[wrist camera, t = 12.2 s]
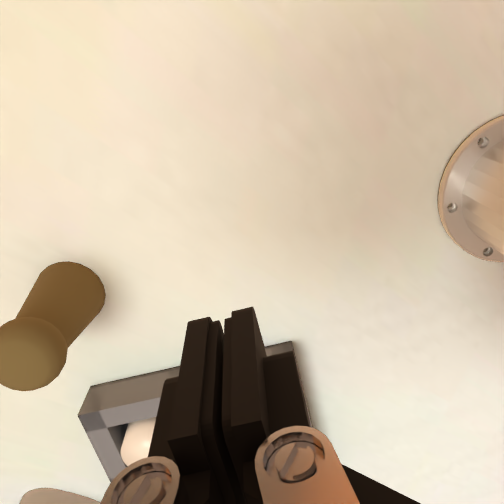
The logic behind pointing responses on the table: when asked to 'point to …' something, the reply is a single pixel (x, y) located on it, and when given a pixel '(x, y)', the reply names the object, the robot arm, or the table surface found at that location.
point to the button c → (137, 440)
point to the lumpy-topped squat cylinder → (54, 497)
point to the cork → (48, 325)
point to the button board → (130, 409)
